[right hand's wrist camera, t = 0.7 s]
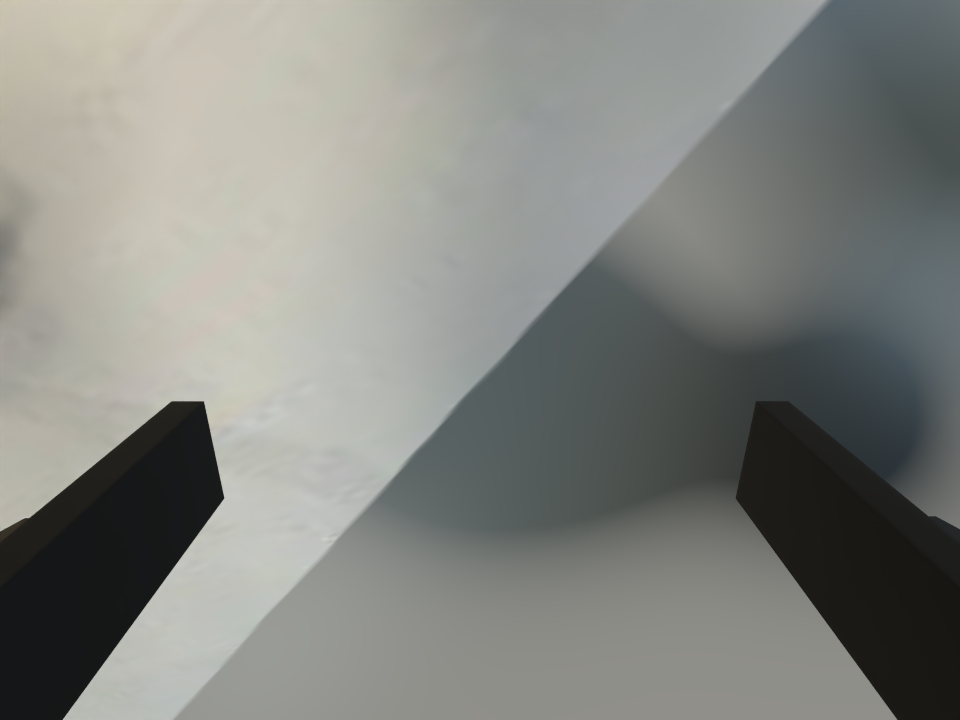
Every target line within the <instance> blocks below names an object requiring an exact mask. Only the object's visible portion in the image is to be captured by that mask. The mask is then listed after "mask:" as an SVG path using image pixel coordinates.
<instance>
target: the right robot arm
mask: <svg viewBox="0 0 960 720" xmlns="http://www.w3.org/2000/svg"><path fill="white" fill-rule="evenodd" d="M223 499H224V495H223V490H222V485H221V480H220V476H219V471H218V466H217V461H216V457H215V452H214V447H213V442H212V438H211V433H210V428H209V423H208V419H207V414H206V409H205V404H204V401H172V402H170V403H169V404H168V405H167V406H165V407H164V408H163V409H162V410H161V411H159V412H158V413H157V414H156V415H155V416H153V417H152V418H151V419H150V420H148V421H147V422H146V423H145V424H144V425H142V426H141V427H140V428H139V429H137V430H136V431H135V432H134V433H133V434H131V435H130V436H129V437H128V438H127V439H125V440H124V441H123V442H122V443H120V444H119V445H118V446H117V447H116V448H114V449H113V450H112V451H111V452H109V453H108V454H107V455H106V456H105V457H103V458H102V459H101V460H100V461H99V462H97V463H96V464H95V465H94V466H92V467H91V468H90V469H89V470H88V471H86V472H85V473H84V474H83V475H81V476H80V477H79V478H78V479H77V480H75V481H74V482H73V483H72V484H71V485H69V486H68V487H67V488H66V489H64V490H63V491H62V492H61V493H60V494H58V495H57V496H56V497H55V498H53V499H52V500H51V501H50V502H49V503H47V504H46V505H45V506H44V507H43V508H41V509H40V510H39V511H38V512H36V513H35V514H34V515H33V516H32V517H30V518H25V519H23V520H21V521H19V522H17V523H15V524H13V525H12V526H10V527H8V528H6V529H4V530H2V531H0V720H63V718H64V717H65V716H66V714H67V713H68V712H69V710H70V709H71V707H72V706H73V705H74V703H75V702H76V701H77V699H78V698H79V696H80V695H81V694H82V692H83V691H84V690H85V688H86V687H87V686H88V684H89V683H90V681H91V680H92V679H93V677H94V676H95V675H96V673H97V672H98V670H99V669H100V668H101V666H102V665H103V664H104V662H105V661H106V659H107V658H108V657H109V655H110V654H111V653H112V651H113V650H114V649H115V647H116V646H117V644H118V643H119V642H120V640H121V639H122V638H123V636H124V635H125V633H126V632H127V631H128V629H129V628H130V627H131V625H132V624H133V623H134V621H135V620H136V618H137V617H138V616H139V614H140V613H141V612H142V610H143V609H144V607H145V606H146V605H147V603H148V602H149V601H150V599H151V598H152V597H153V595H154V594H155V592H156V591H157V590H158V588H159V587H160V586H161V584H162V583H163V581H164V580H165V579H166V577H167V576H168V575H169V573H170V572H171V571H172V569H173V568H174V566H175V565H176V564H177V562H178V561H179V560H180V558H181V557H182V555H183V554H184V553H185V551H186V550H187V549H188V547H189V546H190V545H191V543H192V542H193V540H194V539H195V538H196V536H197V535H198V534H199V532H200V531H201V529H202V528H203V527H204V525H205V524H206V523H207V521H208V520H209V519H210V517H211V516H212V514H213V513H214V512H215V510H216V509H217V508H218V506H219V505H220V503H221V502H222V501H223ZM736 499H737V501H738V502H739V503H740V505H741V506H742V507H743V509H744V510H745V512H746V513H747V514H748V516H749V517H750V519H751V520H752V521H753V523H754V524H755V525H756V527H757V528H758V529H759V531H760V532H761V533H762V535H763V536H764V538H765V539H766V540H767V542H768V543H769V544H770V546H771V547H772V549H773V550H774V551H775V553H776V554H777V555H778V557H779V558H780V560H781V561H782V562H783V564H784V565H785V566H786V568H787V569H788V571H789V572H790V573H791V575H792V576H793V577H794V579H795V580H796V581H797V583H798V584H799V586H800V587H801V588H802V590H803V591H804V592H805V594H806V595H807V597H808V598H809V599H810V601H811V602H812V603H813V605H814V606H815V607H816V609H817V610H818V611H819V613H820V614H821V616H822V617H823V618H824V620H825V621H826V623H827V624H828V625H829V627H830V628H831V629H832V631H833V632H834V633H835V635H836V636H837V638H838V639H839V640H840V642H841V643H842V644H843V646H844V647H845V648H846V650H847V651H848V653H849V654H850V655H851V657H852V658H853V659H854V661H855V662H856V663H857V665H858V666H859V668H860V669H861V670H862V672H863V673H864V674H865V676H866V677H867V679H868V680H869V681H870V683H871V684H872V686H873V687H874V688H875V690H876V691H877V692H878V694H879V695H880V696H881V698H882V699H883V701H884V702H885V703H886V705H887V706H888V707H889V709H890V710H891V711H892V713H893V714H894V715H895V717H896V718H897V720H960V529H958V528H956V527H954V526H953V525H951V524H949V523H947V522H945V521H943V520H941V519H939V518H938V517H936V516H927V515H926V514H925V513H924V512H922V511H921V510H920V509H919V508H917V507H916V506H915V505H914V504H913V503H911V502H910V501H909V500H908V499H906V498H905V497H904V496H903V495H902V494H900V493H899V492H898V491H897V490H896V489H894V488H893V487H892V486H891V485H889V484H888V483H887V482H886V481H885V480H883V479H882V478H881V477H880V476H878V475H877V474H876V473H875V472H874V471H872V470H871V469H870V468H869V467H868V466H866V465H865V464H864V463H863V462H861V461H860V460H859V459H858V458H857V457H855V456H854V455H853V454H852V453H850V452H849V451H848V450H847V449H846V448H844V447H843V446H842V445H841V444H840V443H838V442H837V441H836V440H835V439H833V438H832V437H831V436H830V435H829V434H827V433H826V432H825V431H824V430H823V429H821V428H820V427H819V426H818V425H816V424H815V423H814V422H813V421H812V420H810V419H809V418H808V417H807V416H805V415H804V414H803V413H802V412H801V411H799V410H798V409H797V408H796V407H795V406H793V405H792V404H791V403H790V402H788V401H757V402H756V404H755V409H754V414H753V419H752V424H751V429H750V433H749V438H748V443H747V447H746V452H745V457H744V461H743V466H742V471H741V476H740V480H739V485H738V490H737V495H736Z"/></svg>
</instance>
